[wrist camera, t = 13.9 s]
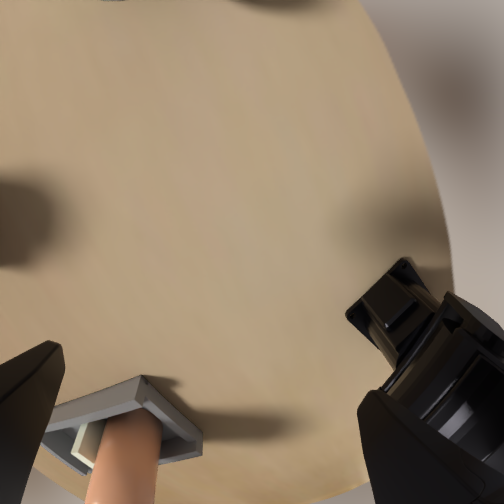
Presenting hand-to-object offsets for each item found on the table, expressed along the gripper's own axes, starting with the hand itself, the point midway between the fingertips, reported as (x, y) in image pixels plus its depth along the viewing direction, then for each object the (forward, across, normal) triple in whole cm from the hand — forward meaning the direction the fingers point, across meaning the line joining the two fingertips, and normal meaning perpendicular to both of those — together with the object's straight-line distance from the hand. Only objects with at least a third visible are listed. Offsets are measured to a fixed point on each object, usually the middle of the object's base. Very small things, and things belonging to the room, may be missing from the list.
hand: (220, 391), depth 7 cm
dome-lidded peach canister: (+12, +5, +20) cm, 24 cm away
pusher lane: (+13, +8, +23) cm, 27 cm away
